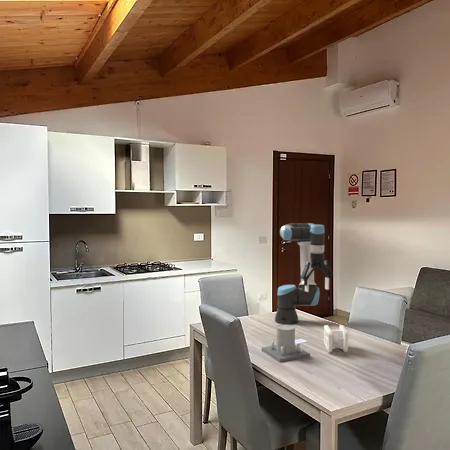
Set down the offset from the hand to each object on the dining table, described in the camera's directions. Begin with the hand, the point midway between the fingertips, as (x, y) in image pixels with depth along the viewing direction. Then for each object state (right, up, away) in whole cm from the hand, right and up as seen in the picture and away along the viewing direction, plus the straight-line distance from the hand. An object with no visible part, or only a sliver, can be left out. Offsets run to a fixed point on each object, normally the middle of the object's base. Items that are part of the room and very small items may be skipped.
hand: (317, 290), depth 242 cm
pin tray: (-20, -30, -18) cm, 40 cm away
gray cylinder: (-20, -29, -18) cm, 39 cm away
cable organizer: (+7, -30, -13) cm, 33 cm away
